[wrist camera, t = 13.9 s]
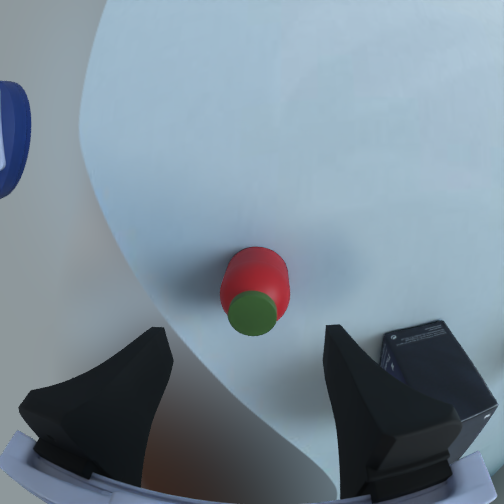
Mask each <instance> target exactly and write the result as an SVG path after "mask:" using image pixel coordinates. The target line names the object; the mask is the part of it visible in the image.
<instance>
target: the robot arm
mask: <svg viewBox="0 0 504 504" xmlns="http://www.w3.org/2000/svg"><path fill="white" fill-rule="evenodd" d="M5 165H6V161H5V153H4V145H3V135H2V123H1V91H0V171H1V170H3V169H4V168H5ZM172 366H173V357H172V353H171V350H170V347H169V343H168V341H167V337H166V334H165V329H164V328H162V327H151V328H150V329H149V330H147V331H146V332H144V333H143V334H142V335H140V336H139V337H138V338H137V339H135V340H134V341H133V342H131V343H130V344H129V345H127V346H126V347H125V348H124V349H122V350H121V351H119V352H118V353H117V354H115V355H114V356H112V357H111V358H109V359H108V360H107V361H105V362H104V363H102V364H100V365H99V366H97V367H95V368H93V369H91V370H90V371H88V372H86V373H83V374H81V375H79V376H77V377H75V378H72V379H70V380H67V381H65V382H62V383H59V384H56V385H52V386H49V387H45V388H40V389H36V390H31V391H30V392H29V393H28V395H27V396H26V398H25V399H24V400H23V402H22V403H21V404H20V406H19V413H20V414H21V416H22V417H23V419H24V420H25V422H26V423H27V424H28V425H29V427H30V428H31V429H32V430H33V431H34V432H35V433H36V435H37V436H38V437H39V440H38V441H37V442H36V441H35V440H33V439H32V438H31V437H29V436H27V435H25V434H24V433H22V432H21V431H19V430H17V431H16V433H15V434H14V436H13V437H12V439H11V440H10V442H9V443H8V445H7V447H6V448H5V450H4V451H3V453H2V455H1V456H0V468H1V469H2V470H3V471H4V472H5V473H7V474H8V475H9V476H10V477H11V478H12V479H14V480H15V481H16V482H17V483H18V484H20V485H21V486H22V487H24V488H25V489H26V490H27V491H29V492H31V493H32V494H33V495H35V496H36V497H38V498H40V499H41V500H43V501H44V502H46V503H47V504H232V503H220V502H211V501H204V500H196V499H190V498H184V497H178V496H173V495H169V494H164V493H159V492H155V491H151V490H147V489H143V488H141V478H142V469H143V462H144V456H145V450H146V445H147V441H148V436H149V432H150V428H151V424H152V421H153V418H154V415H155V412H156V410H157V408H158V405H159V403H160V400H161V398H162V395H163V393H164V390H165V388H166V386H167V383H168V381H169V377H170V374H171V370H172ZM323 366H324V374H325V381H326V385H327V389H328V393H329V397H330V401H331V405H332V410H333V414H334V418H335V423H336V429H337V439H338V450H339V464H340V500H334V501H326V502H317V503H306V504H489V503H490V502H492V501H493V500H494V499H496V497H497V494H496V491H495V489H494V486H493V483H492V480H491V478H490V475H489V473H488V470H487V468H486V465H485V463H484V460H483V458H482V456H481V453H480V451H476V452H474V453H472V454H470V455H468V456H466V457H463V458H461V459H459V460H457V461H455V462H453V463H452V464H451V465H449V463H448V460H447V459H449V458H450V453H449V451H448V448H449V447H450V446H451V444H452V443H453V442H454V441H455V439H456V438H457V437H458V435H459V434H460V432H461V430H462V427H463V424H462V422H461V420H460V417H459V415H458V413H457V411H456V410H455V408H454V406H453V405H452V404H449V403H446V402H443V401H440V400H437V399H434V398H432V397H429V396H427V395H425V394H423V393H421V392H419V391H417V390H415V389H413V388H411V387H409V386H408V385H406V384H404V383H403V382H401V381H399V380H398V379H396V378H395V377H394V376H392V375H391V374H389V373H388V372H387V371H385V370H384V369H383V368H382V367H380V366H379V365H378V364H377V363H376V362H375V361H374V360H373V359H371V358H370V357H369V356H368V355H367V354H366V353H365V352H364V351H363V350H362V348H361V347H360V346H359V345H358V344H357V343H356V342H355V341H354V340H353V339H352V338H351V336H350V335H349V334H348V333H347V332H346V331H345V329H344V328H343V327H342V326H341V325H340V324H338V325H326V332H325V343H324V354H323Z"/></svg>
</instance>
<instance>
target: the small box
mask: <svg viewBox="0 0 504 504" xmlns="http://www.w3.org/2000/svg"><path fill="white" fill-rule="evenodd" d="M380 367H382V368H383V369H384V370H385V371H387V372H388V373H389V374H391V375H392V376H394V377H395V378H396V379H398V380H399V381H401V382H403V383H404V384H406V385H408V386H409V387H411V388H413V389H415V390H417V391H419V392H421V393H423V394H425V395H427V396H429V397H432V398H434V399H437V400H440V401H443V402H446V403H449V404H452V405H453V406H454V408H455V410H456V411H457V413H458V415H459V417H460V420H461V422H462V424H463V427H462V430H461V432H460V434H459V435H458V437H457V438H456V439H455V441H454V442H453V443H452V444H451V446H450V447H449V448H448V451H449V453H450V458H449V459H447V460H448V463H449V465H451V464H452V463H453V462H455V461H457V460H459V458H460V457H461V456H462V455H463V454H464V453H465V451H466V450H467V449H468V448H469V446H470V445H471V444H472V442H473V441H474V440H475V438H476V437H477V436H478V434H479V433H480V432H481V430H482V429H483V428H484V426H485V425H486V423H487V422H488V421H489V419H490V418H491V416H492V415H493V413H494V412H495V410H496V408H497V407H498V405H499V404H498V403H497V401H496V399H495V398H494V396H493V395H492V393H491V391H490V390H489V388H488V386H487V384H486V383H485V381H484V380H483V378H482V377H481V375H480V373H479V372H478V370H477V369H476V367H475V366H474V364H473V363H472V361H471V360H470V359H469V357H468V355H467V354H466V352H465V351H464V350H463V348H462V347H461V345H460V344H459V343H458V341H457V340H456V338H455V337H454V335H453V334H452V332H451V331H450V329H449V328H448V326H447V325H446V323H445V322H444V321H438V322H435V323H432V324H427V325H424V326H419V327H415V328H410V329H406V330H400V331H396V332H392V333H388V334H385V335H384V340H383V347H382V353H381V360H380Z"/></svg>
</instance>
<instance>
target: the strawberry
mask: <svg viewBox="0 0 504 504" xmlns="http://www.w3.org/2000/svg"><path fill="white" fill-rule="evenodd" d="M220 300H221V304H222V307H223V309H224V311H225V313H226V314H227V316H228V319H229V322H230V324H231V325H232V327H233V328H234V329H235V330H236V331H238V332H239V333H242V334H244V335H248V336H259V335H263V334H265V333H267V332H269V331H270V330H271V329H272V328H273V327H274V325H275V324H276V321H278V320H279V319H280V318H281V317H282V316H283V314H284V313H285V311H286V309H287V307H288V304H289V300H290V286H289V278H288V270H287V267H286V264H285V262H284V261H283V259H282V258H281V257H280V256H279V255H278V254H277V253H275V252H274V251H272V250H270V249H267V248H263V247H250V248H246V249H243V250H241V251H240V252H238V253H237V254H236V255H234V256H233V258H232V259H231V260H230V262H229V264H228V267H227V269H226V272H225V275H224V278H223V280H222V283H221V288H220Z"/></svg>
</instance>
